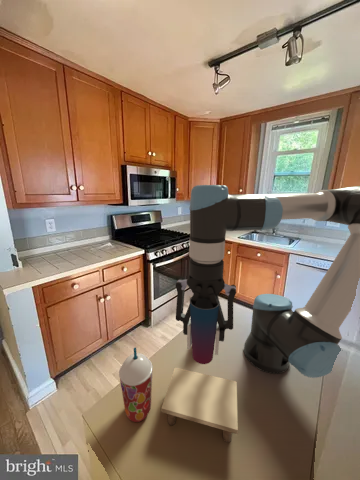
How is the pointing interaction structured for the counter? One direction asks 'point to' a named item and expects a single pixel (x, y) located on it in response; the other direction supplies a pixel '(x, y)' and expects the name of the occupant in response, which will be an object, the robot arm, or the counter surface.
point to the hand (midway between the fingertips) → (203, 347)
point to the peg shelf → (202, 401)
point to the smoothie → (136, 386)
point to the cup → (203, 329)
